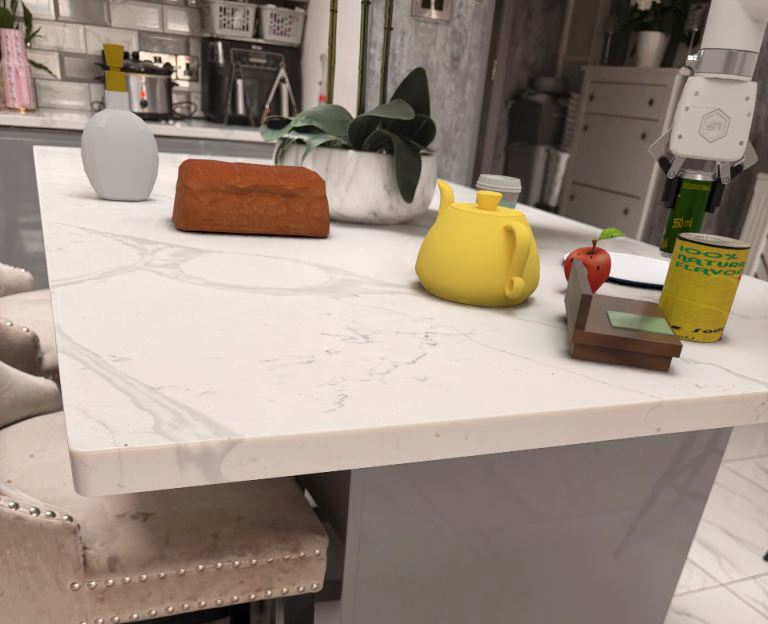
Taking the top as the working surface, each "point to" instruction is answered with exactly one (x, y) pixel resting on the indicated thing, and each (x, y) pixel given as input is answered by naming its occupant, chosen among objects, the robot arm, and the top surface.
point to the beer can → (687, 207)
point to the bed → (617, 327)
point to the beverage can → (702, 284)
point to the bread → (250, 199)
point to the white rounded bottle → (119, 141)
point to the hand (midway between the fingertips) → (688, 208)
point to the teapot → (479, 252)
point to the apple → (593, 260)
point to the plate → (636, 269)
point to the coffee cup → (501, 188)
